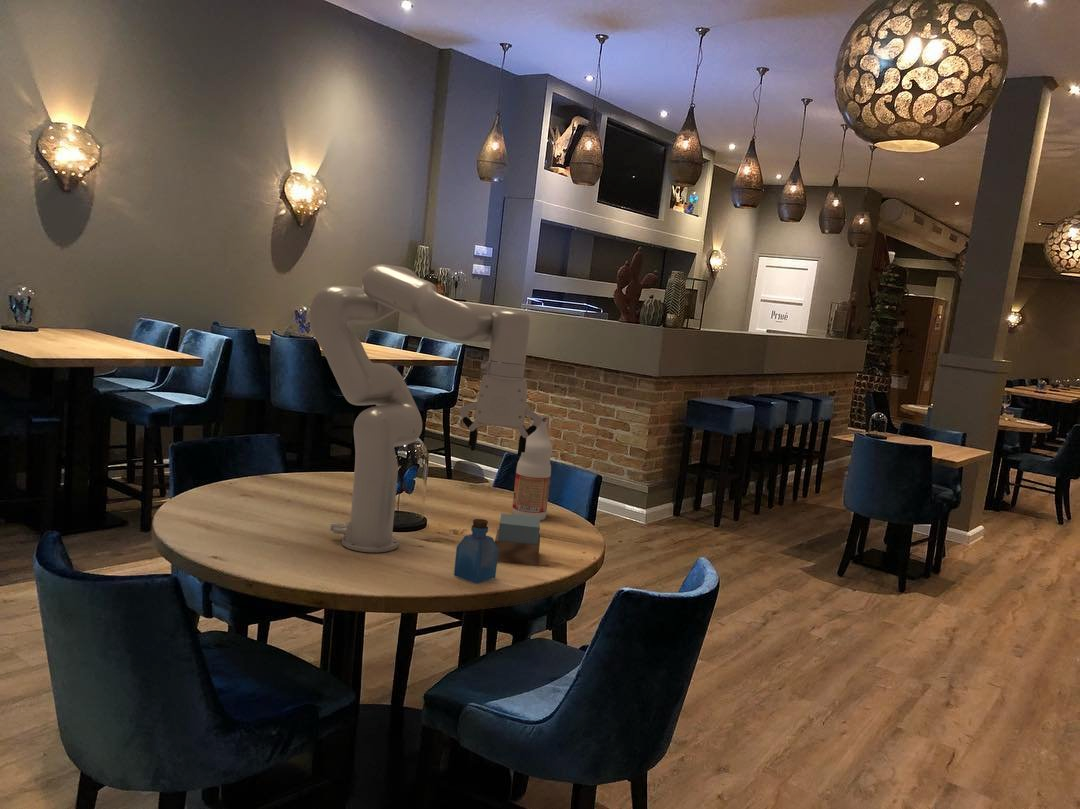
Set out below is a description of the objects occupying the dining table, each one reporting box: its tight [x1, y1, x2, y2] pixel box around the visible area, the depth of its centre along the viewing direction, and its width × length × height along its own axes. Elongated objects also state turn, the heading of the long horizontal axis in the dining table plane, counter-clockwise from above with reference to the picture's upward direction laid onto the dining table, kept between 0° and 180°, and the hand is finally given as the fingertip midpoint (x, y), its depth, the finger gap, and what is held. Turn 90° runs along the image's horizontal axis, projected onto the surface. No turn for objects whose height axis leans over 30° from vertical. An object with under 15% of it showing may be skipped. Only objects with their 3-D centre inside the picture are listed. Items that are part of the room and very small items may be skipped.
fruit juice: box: [511, 414, 554, 522], centre depth 232 cm, size 9×9×28 cm
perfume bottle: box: [453, 518, 498, 585], centre depth 178 cm, size 6×6×12 cm
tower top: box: [498, 512, 541, 545], centre depth 195 cm, size 9×9×4 cm
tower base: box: [494, 528, 541, 567], centre depth 195 cm, size 10×10×5 cm
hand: (496, 452), depth 177 cm, fingers open, 9 cm apart
